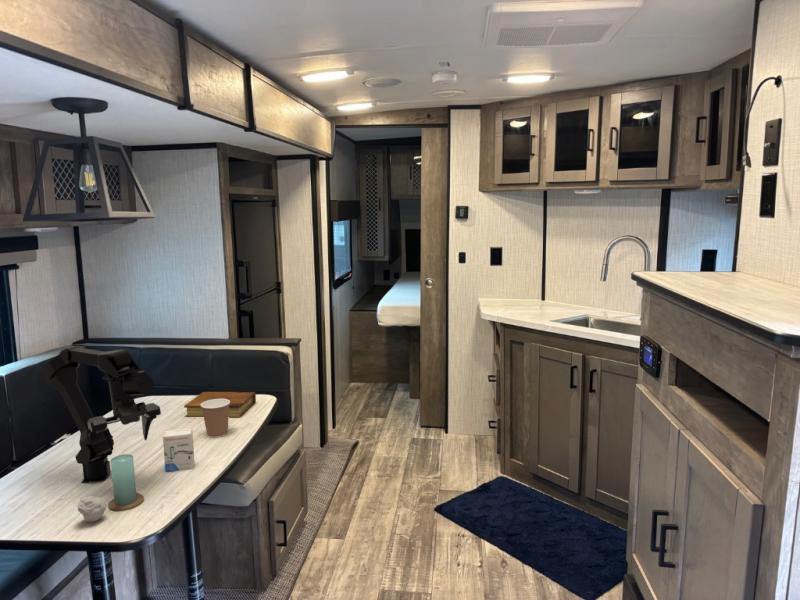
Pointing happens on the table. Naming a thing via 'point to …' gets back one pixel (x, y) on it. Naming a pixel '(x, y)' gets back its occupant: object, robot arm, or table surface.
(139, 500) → the coaster
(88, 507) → the white sculpted piece
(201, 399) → the diary
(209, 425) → the coffee cup
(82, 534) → the table surface
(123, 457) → the teal round cylinder
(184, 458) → the ink box
